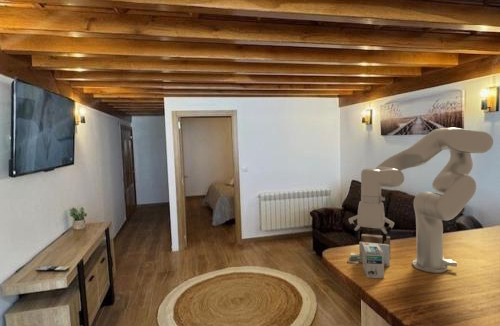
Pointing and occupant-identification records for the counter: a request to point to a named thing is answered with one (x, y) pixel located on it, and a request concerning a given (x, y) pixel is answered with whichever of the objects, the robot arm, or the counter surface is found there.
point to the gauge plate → (384, 248)
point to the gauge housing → (369, 239)
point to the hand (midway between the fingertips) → (370, 240)
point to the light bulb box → (373, 260)
